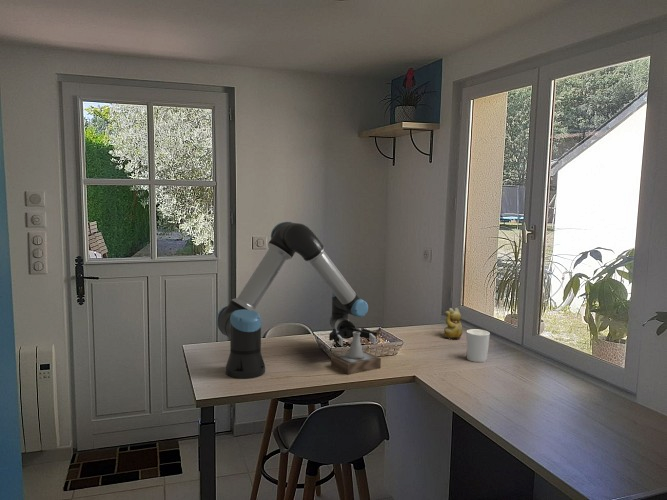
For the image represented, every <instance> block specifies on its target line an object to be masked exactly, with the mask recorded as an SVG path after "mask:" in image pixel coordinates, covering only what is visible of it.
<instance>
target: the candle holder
mask: <svg viewBox="0 0 667 500" xmlns="http://www.w3.org/2000/svg"><path fill="white" fill-rule="evenodd" d="M490 335H491V333H490V331H487V330H485V329H480V328H479V329H476V328H474V329H472V328H471V329H467V330H466V359H467V360H468V361H471V362H475V363H484V362H487V360H488V354H489V353H488V352H489V344H490Z"/></svg>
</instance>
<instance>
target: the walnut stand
mask: <svg viewBox="0 0 667 500" xmlns="http://www.w3.org/2000/svg"><path fill="white" fill-rule="evenodd" d="M363 352H364V355H365V357H364V358H360V359H354V358H349V357H348V356H347V354H348V353H343V354H337V355H331V356H330V366H331V368H332V367H333V368H334V369H335V370H338V371H340V372H341V373H344V374H346V375H352V374H358V373H362V372H363V373H364V372H367V371H373V370H377V369H381V366H382V365H381V362H382V361H381V360H382V359H381V358H380V357H379V356H376V355H374V354H371V353H369V352H367V351H364V350H363Z"/></svg>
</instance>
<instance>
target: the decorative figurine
mask: <svg viewBox="0 0 667 500" xmlns="http://www.w3.org/2000/svg"><path fill="white" fill-rule="evenodd" d="M444 314H445V315H446V318H445V323H446V325H447V327H445V328H444V329H443V337H445V338H446V337H448V338H447V339H449V338H450V339H449V340H451V339H453V340H458V339H457V338H459V339H460V338H461V337H462V335H463V326H462V323H461V320H462V314H461V313H460V310H459V308H458V307H455V308H454V309H453V308H452V307H449V308H448V310H446V311H444Z"/></svg>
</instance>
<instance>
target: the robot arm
mask: <svg viewBox="0 0 667 500" xmlns="http://www.w3.org/2000/svg"><path fill="white" fill-rule="evenodd" d="M267 247H268V249H267V251H266V252H265V254H264V256H263V258H261V261H260V262H259V264H258V265H257V267H256V269H255V270H254V272H253V273H252V274H251V276H250V278H249V280H248V281H247V282H246V283H245V285H244V287H243V288H242V290H241V291H240V293H239V295H238V296H237V297H236V298H233V299H232V298H231V299H230V301H229V303H228V304H227V306H224V307H222V308H221V309H220V310H219V311H218V313H217V316H216V322H215V323H216V326H217V329H218V330H219V331H220V332H221V334H222V335H224V336H226V337H227V338H229V340H230V341H229V342H230V344H229V345H230V347H229V348H230V351H229V355H228V358H227V362H226V364H225V374H226V376H228V377H231V378H234V379H235V378H236V379H253V378H257V377H260V376H263V375H264V374H265V373H266V364H265V361H264V358H263V355H262V325H263V324H262V316H261V314H260V313H259V312H257V311H256V308H257V307H258V305H259V304H260V303H261V301H262V299H263V297H264V295H265V294H266V293H267V291H268V289H269V288H270V286H271V285H272V283H273V281H274V280H275V278H276V277H277V275H278V273H280V270H281V269H282V267H283V266H284V264H285V263H286V261H287V260H291V259H293V257H294V255H295V254H298V255H300V257H301V258H303V260H304V261H305V262H309V263H310V265H311V266H312V267H313V269H314V270H315V272H317V274H318V275H319V276H320V278H321V279H322V280H323V281H324V283H325V284H326V285H327V287H328V288H329V289H330V290H331V292H332V294H331V316H330V318H329V324H330V327H331V328H332V331H331V332H330V333H329V334H328V335H329V337H328V339H329V341H333V343H335V344H336V343H337V342H338V344H339V345H340V346H341V347H342V346H344V339H345V340H348V339H351V338H353V332H360V338H364V339H367V340H369V341H370V342H371V343H372V344H373V345H376V343H377V339H378V332H376V331H373V330H370V329H366V328H365V327H360V328H356V326H355V323H353V322H351V321H350V320H349V315H350V316H353V317H356V318H362V317H364V316H365V315H367V313H368V311H369V304H368V303H367V301H365V300H364V299H362V298H360V297H359V296H358V294H357V293H356V292H355V290H354V289H353V288H352V286H351V285H350V283H348V281H347V280H346V278H345V277H344V276H343V274H342V272H341V271H340V270H339V269H338V267H337V266H336V265H335V263H334V262H333V260H331V258H330V257H329V255H328V254H327V252H325V250H324V249H325V246H324V245H323V243H322V242H321V240H320V239H319V237H318V236H317V235H316V234H315V233H314V231H312V229H310V227H308V226H307V225H305V224H303V223H297V222H292V221H285V222H284V221H282V222H279V223H277V224H276V225H275V226H274V227H273V228H272V230H271V233H270V239H269V242H268V243H267Z"/></svg>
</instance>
